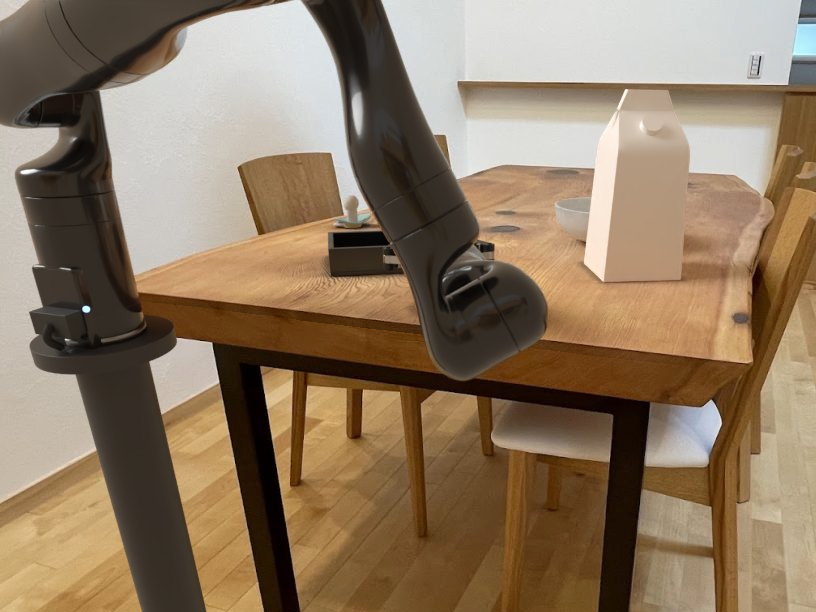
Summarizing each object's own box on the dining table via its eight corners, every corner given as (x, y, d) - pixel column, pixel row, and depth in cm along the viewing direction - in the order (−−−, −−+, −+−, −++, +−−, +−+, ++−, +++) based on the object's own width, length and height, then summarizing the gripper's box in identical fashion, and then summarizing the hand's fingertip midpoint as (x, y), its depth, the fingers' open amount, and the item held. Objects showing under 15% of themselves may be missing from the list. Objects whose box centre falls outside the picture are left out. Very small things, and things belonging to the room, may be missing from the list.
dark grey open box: (415, 272, 101) (414, 245, 99) (330, 276, 98) (328, 249, 96) (406, 253, 112) (405, 229, 110) (330, 257, 109) (327, 232, 107)
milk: (654, 261, 109) (672, 90, 99) (680, 279, 99) (704, 90, 88) (583, 263, 108) (594, 88, 97) (603, 282, 97) (617, 89, 87)
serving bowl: (669, 258, 111) (674, 217, 109) (546, 252, 115) (547, 211, 112) (665, 234, 130) (669, 198, 127) (559, 229, 133) (561, 194, 131)
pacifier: (327, 226, 133) (341, 230, 129) (324, 194, 131) (337, 197, 126) (360, 222, 137) (374, 226, 133) (357, 191, 135) (371, 194, 131)
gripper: (516, 235, 69) (482, 208, 84) (382, 240, 66) (372, 211, 81) (515, 304, 72) (482, 266, 87) (387, 312, 69) (376, 271, 84)
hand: (429, 240), depth 84 cm, fingers closed
